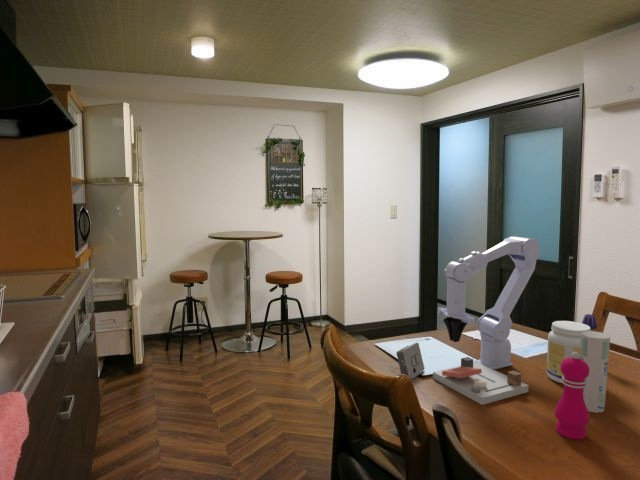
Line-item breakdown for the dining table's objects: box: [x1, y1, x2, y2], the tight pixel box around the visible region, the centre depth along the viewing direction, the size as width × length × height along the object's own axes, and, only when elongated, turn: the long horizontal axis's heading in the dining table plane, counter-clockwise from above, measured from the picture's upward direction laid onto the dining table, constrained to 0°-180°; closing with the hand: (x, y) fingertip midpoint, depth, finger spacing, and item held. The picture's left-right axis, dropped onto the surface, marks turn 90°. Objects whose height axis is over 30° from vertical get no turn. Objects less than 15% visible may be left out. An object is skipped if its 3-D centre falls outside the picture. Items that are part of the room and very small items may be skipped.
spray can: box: [580, 331, 611, 414], centre depth 122 cm, size 6×6×20 cm
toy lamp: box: [581, 313, 598, 331], centre depth 153 cm, size 5×5×17 cm
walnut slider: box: [506, 370, 522, 386], centre depth 133 cm, size 2×3×3 cm
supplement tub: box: [545, 320, 590, 384], centre depth 141 cm, size 12×12×17 cm
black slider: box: [460, 356, 474, 368], centre depth 144 cm, size 3×2×3 cm
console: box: [432, 362, 529, 406], centre depth 137 cm, size 18×20×6 cm
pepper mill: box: [554, 352, 590, 440], centre depth 109 cm, size 7×7×20 cm
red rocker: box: [442, 367, 482, 378], centre depth 137 cm, size 8×8×1 cm
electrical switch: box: [396, 342, 425, 380], centre depth 146 cm, size 9×5×9 cm, turn 141°
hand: (454, 340), depth 148 cm, fingers closed
